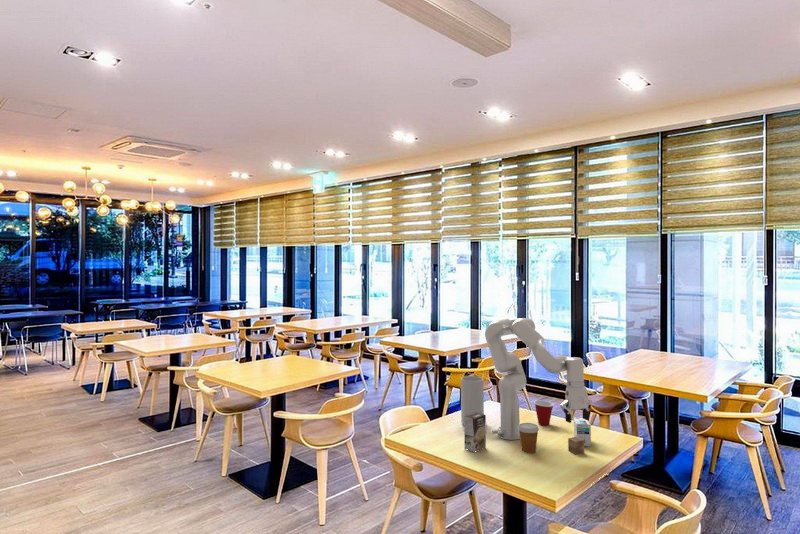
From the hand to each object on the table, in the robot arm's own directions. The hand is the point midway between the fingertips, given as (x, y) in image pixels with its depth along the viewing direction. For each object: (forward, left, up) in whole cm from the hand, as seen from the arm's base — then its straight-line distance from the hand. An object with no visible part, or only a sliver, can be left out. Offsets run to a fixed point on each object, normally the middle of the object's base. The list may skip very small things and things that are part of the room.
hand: (577, 420), depth 232 cm
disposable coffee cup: (-20, +10, -15) cm, 27 cm away
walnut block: (0, +1, -15) cm, 15 cm away
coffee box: (-42, +22, -15) cm, 50 cm away
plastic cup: (+11, +41, -15) cm, 44 cm away
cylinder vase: (-25, +57, -15) cm, 64 cm away
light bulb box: (+11, +10, -15) cm, 21 cm away
